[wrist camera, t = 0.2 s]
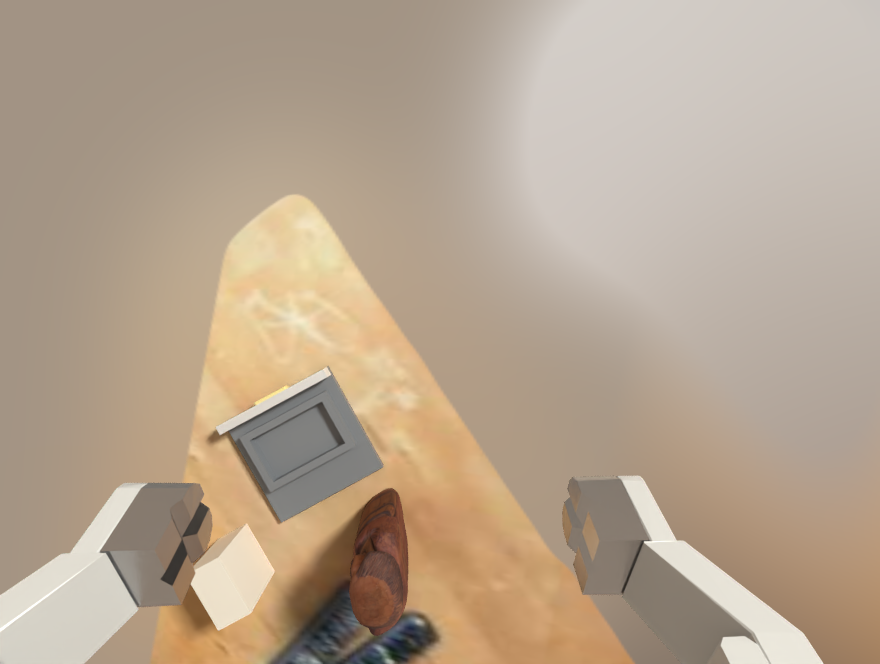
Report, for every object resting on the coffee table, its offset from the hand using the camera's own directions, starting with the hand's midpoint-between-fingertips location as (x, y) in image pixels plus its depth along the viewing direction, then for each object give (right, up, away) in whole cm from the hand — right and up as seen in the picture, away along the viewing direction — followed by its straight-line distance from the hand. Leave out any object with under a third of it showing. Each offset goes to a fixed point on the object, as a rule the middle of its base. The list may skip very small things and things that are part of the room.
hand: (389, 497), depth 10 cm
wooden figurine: (-7, -24, +55) cm, 60 cm away
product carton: (-26, -28, +54) cm, 66 cm away
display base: (-18, -12, +54) cm, 58 cm away
